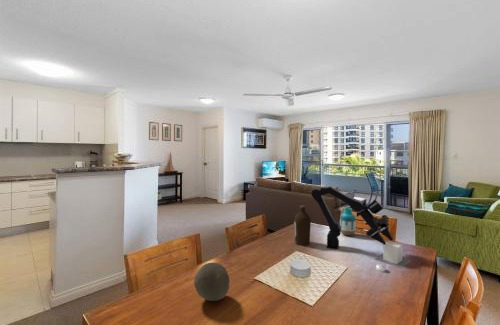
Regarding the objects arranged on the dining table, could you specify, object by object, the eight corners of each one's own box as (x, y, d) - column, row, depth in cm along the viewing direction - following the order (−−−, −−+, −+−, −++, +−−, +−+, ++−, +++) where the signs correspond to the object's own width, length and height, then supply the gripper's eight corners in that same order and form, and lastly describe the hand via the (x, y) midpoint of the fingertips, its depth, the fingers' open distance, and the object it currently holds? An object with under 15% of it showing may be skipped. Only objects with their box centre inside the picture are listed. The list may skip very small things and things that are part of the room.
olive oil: (311, 241, 168) (311, 204, 166) (309, 247, 158) (309, 208, 156) (295, 239, 171) (295, 203, 170) (292, 244, 161) (293, 206, 160)
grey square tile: (374, 259, 139) (374, 259, 139) (384, 253, 148) (384, 252, 148) (401, 269, 128) (401, 268, 128) (411, 261, 137) (411, 260, 137)
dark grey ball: (213, 286, 113) (213, 254, 112) (236, 298, 104) (236, 263, 103) (188, 301, 102) (187, 265, 101) (211, 315, 93) (210, 277, 92)
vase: (352, 232, 184) (353, 207, 183) (357, 237, 174) (358, 210, 173) (338, 232, 185) (338, 206, 184) (342, 237, 175) (342, 210, 174)
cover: (383, 259, 138) (383, 243, 138) (388, 255, 143) (388, 240, 143) (397, 264, 133) (397, 247, 132) (402, 260, 137) (402, 244, 137)
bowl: (376, 271, 126) (376, 266, 126) (376, 268, 129) (376, 263, 129) (385, 273, 124) (385, 268, 124) (384, 269, 127) (385, 265, 127)
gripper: (372, 213, 137) (393, 238, 129) (386, 208, 148) (406, 231, 141) (358, 224, 143) (377, 249, 135) (372, 218, 155) (391, 240, 147)
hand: (388, 242), depth 139 cm, fingers open, 9 cm apart
